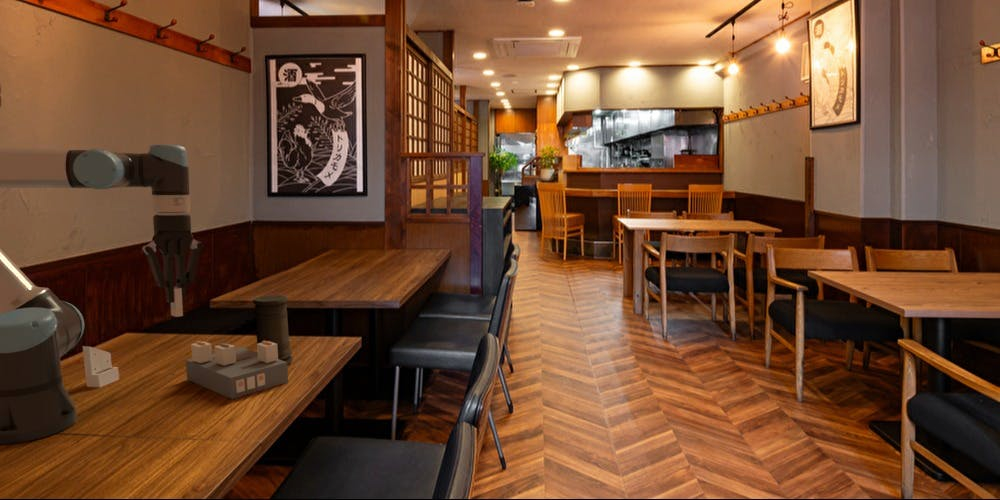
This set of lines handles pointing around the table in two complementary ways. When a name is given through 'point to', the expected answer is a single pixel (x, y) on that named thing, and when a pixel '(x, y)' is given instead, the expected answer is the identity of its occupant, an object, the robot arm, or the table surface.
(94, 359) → the white wedge bracket
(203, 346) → the knob far
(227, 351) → the knob mid
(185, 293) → the robot arm
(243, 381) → the switch unit
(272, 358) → the knob near
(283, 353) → the container
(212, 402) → the table surface
